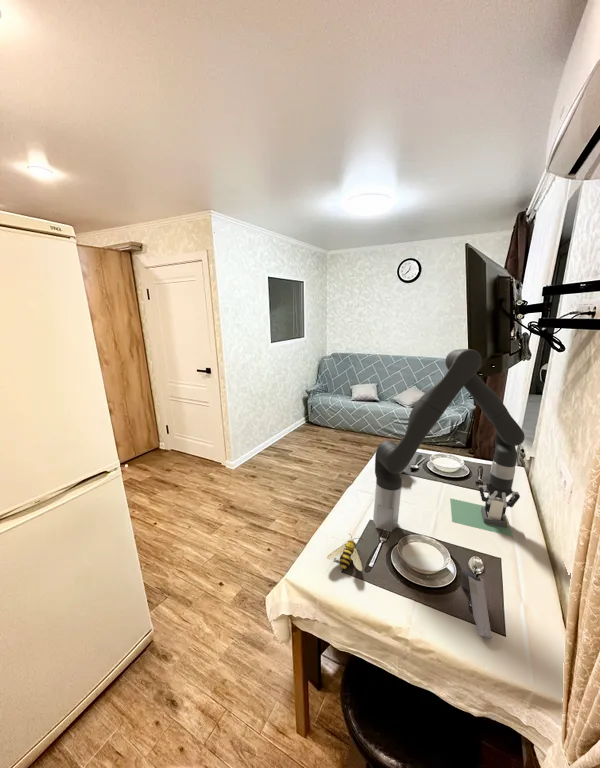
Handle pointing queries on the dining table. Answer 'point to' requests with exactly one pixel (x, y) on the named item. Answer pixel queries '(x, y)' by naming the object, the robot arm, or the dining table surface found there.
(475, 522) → the board
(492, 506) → the plug
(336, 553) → the insect
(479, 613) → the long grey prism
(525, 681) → the dining table surface
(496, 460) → the robot arm
